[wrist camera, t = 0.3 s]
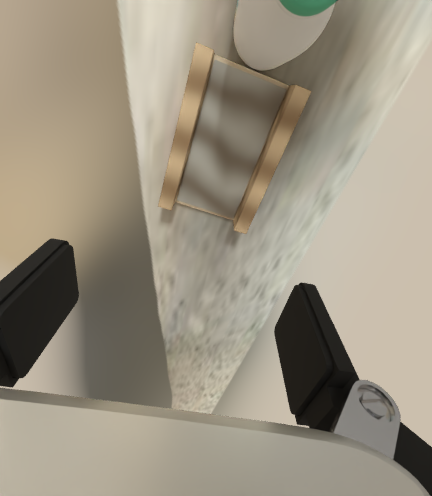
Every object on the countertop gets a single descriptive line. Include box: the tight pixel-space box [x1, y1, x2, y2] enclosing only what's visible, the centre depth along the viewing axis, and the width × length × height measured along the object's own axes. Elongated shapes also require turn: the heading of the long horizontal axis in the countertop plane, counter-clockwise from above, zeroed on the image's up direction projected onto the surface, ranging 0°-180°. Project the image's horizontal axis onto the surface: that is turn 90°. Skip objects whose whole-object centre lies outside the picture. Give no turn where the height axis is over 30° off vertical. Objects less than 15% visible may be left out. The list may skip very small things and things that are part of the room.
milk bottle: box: [233, 0, 337, 71], centre depth 21 cm, size 8×8×20 cm
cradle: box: [158, 43, 311, 234], centre depth 35 cm, size 20×14×4 cm
